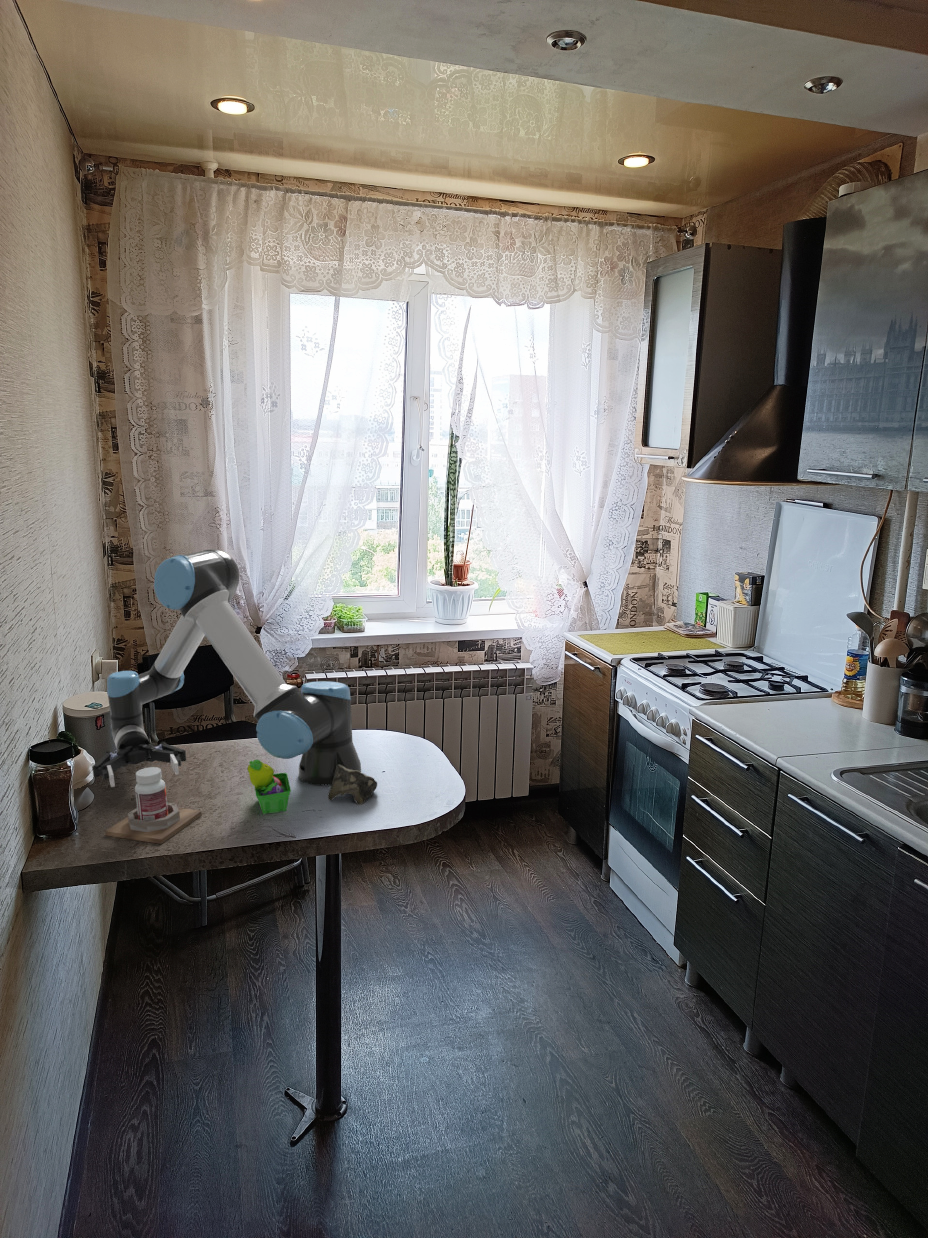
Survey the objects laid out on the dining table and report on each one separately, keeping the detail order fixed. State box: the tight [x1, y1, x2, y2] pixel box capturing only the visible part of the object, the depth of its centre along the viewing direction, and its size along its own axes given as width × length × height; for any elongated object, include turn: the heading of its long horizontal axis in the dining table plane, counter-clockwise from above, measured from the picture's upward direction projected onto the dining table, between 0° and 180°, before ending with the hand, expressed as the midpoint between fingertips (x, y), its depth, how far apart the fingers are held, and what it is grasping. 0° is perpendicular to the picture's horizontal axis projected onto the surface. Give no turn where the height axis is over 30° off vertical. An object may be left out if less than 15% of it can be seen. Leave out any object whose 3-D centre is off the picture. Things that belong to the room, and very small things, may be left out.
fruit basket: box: [247, 759, 292, 815], centre depth 193 cm, size 11×9×11 cm
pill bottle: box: [134, 766, 168, 821], centre depth 183 cm, size 6×6×11 cm
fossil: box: [327, 765, 378, 805], centre depth 197 cm, size 11×9×10 cm
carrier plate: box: [104, 802, 203, 845], centre depth 185 cm, size 14×14×3 cm
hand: (145, 775), depth 190 cm, fingers open, 13 cm apart
